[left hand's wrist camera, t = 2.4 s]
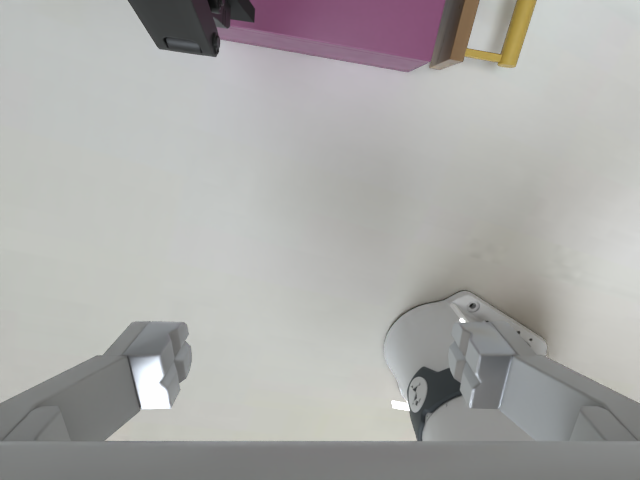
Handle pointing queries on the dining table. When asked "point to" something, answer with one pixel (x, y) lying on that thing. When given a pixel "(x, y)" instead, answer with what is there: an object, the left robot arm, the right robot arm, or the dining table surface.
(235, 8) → the right robot arm
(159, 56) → the dining table surface
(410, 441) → the left robot arm
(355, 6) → the purple drawer cabinet
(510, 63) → the drawer
